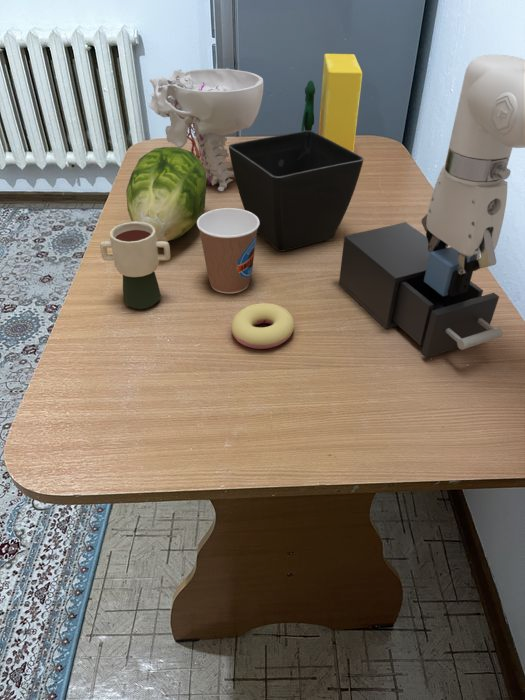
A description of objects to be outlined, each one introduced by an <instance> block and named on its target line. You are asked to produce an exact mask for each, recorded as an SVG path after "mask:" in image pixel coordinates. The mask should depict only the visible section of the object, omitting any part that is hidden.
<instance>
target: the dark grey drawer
mask: <svg viewBox="0 0 525 700" xmlns="http://www.w3.org/2000/svg"><path fill="white" fill-rule="evenodd" d="M424 278H425V275H422V276H418V277H414V278H411V279H407V280H403V281H399V284H398V289H397V294H396V300H395V305H394V310H393V315H392V320H393V321H394V322H395V323H396V324H397V325H398V326H397V327H399V328H400V329H401V330H403V332H405V334H407V335H408V336H409V337H410V338H411V339H412V340H413V341H415V342H416V343H417V344H418V345H419V346H422V348H421V351H420V354H421V355H422V356H423V357H424V358H426V359H427V358H430V357H433V356H436V355H439V354H442V353H445V352H449V351H451V350H455V349H459V350H461V351H463V350H467V349H469V348H472V347H475V346H478V345H481V344H483V343H487V342H490V341H493V340H497V339H499V338H501V337H502V336H503V330H502V329H501V328H500V327H499V326H498V327H494V326H492V324H491V323H492V320H493V317H494V314H495V311H496V309H497V305H498V302H499V299H500V295H498V294H497V293H495V292H492V293H487V294H484V295H483V292H484V290H483V289H482V288H481V287H479V286H478V285H477V284H476V283H474V282H472V280H470V284H469V287H468V291H467V292H465V293H462V294H459V295H455V296H450V295H446V296H442V295H440V294H439V293H438V292H437V291H435V290H434V289H433V288H431V287H430V286H429V285H428V284H426V283H425V282H424Z"/></svg>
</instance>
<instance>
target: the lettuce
mask: <svg viewBox="0 0 525 700" xmlns="http://www.w3.org/2000/svg"><path fill="white" fill-rule="evenodd" d="M207 184H208V180H206V170H205V168H204V166H203V164H202V162H201V158H200V159H199V158H197V157H196V154H195V155H194V154H193V153H191V150H188V149H184V148H183V147H182V148H179V147H177V146H162V147H156V148H154V149H152V150H150V151H149V152H147V153H145V154H144V155H142V156H141V157H140V158H139V159H138V161H137V163H136V165H135V167H134V168H133V170H132V172H131V175H130V178H129V181H128V184H127V186H126V190H125V191H126V192H125V193H126V195H125V196H126V206H127V207H126V208H127V212H128V215H129V217H130V220H131V222H135V221H137V222H145V223H148V224H151V225H152V226H153V227H154V228H155V232H156V238H157V241H166V242H168V241H173V240H176V239H179V238H180V237H182V236H183V235H185V233H187V232H189V230H191V229H192V228H193V227H194V226H195V224H197V220H198V218H199V217H200V216H201V215H203V212H204V210H205V208H206V196H207Z"/></svg>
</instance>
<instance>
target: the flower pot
mask: <svg viewBox="0 0 525 700" xmlns="http://www.w3.org/2000/svg"><path fill="white" fill-rule="evenodd" d="M228 153H229V157H230V163H232V167H231V168H232V171H233V172H234V176H235V177H234V176H233V177H234V180H235V184H236V188H237V191H238V194H239V197H240V200H241V204H242V206H243V210H246V211H249V212H251V213H253V214H254V215H256V216H257V217H258V219H259V222H260V224H259V227H258V228H257V234H258V235H260V236H261V237H262V238H263V239H264V240H265V241H266V242H268V243H269V244H270V245H271V246H273V248H275V249H276V250H277V251H280V252H285V251H289V250H293V249H297V248H302V247H305V246H309V245H313V244H316V243H320V242H324V241H327V240H331V239H333V238H334V236H335V234H336V233H337V230H338V229H339V227H340V225H341V223H342V221H343V219H344V217H345V214H346V212H347V210H348V208H349V205H350V203H351V201H352V198H353V196H354V192H355V190H356V186H357V184H358V181H359V179H360V178H359V177H360V174H361V170H362V167H363V163H364V160H365V159H364V157H363V156H361V155H359V154H357V153H355V152H354V151H353V152H352V151H350V150H348V149H346V148H344V147H342V146H340V145H338V144H336V143H334V142H332V141H331V140H329V139H327V138H325V137H323V136H321V135H319V133H317V132H315V131H313V130H311V131H305V130H304V131H301V130H300V131H296V132H290V133H286V134H285V133H284V134H280V135H275V136H273V135H272V136H269V137H263V138H257V139H251V140H245V141H240V142H237V143H236V142H235V143H231V144H229V145H228Z"/></svg>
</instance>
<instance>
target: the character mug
mask: <svg viewBox="0 0 525 700" xmlns="http://www.w3.org/2000/svg"><path fill="white" fill-rule="evenodd" d="M109 238H110V241H109V240H108V241H107V240H105V241H100V243H99V248H100V254H101V258H102V260H103V261H106V262H107V261H109V262H110V261H113V262H114V267H115V270H116V271H117V272H118V273H119V274H120V275H122V297H123V298H122V299H123V302H124V304H126V305H127V307H131V308H133V309H146V308H147V309H148V308H150V307H152V306H154V305H155V304H157V303H158V302H159V301H160V300H161V298H162V295H161V291H160V286H159V282H158V279H157V275H156V272H155V271H156V270H157V268H158V266H159V264H160V261H169V260H171V249H170V248H171V247H170V243H169V242H168V241H167V242H166V241H157V238H156V232H155V228H154V227H153V226H152V225H151V224H148V223H145V222H137V221H135V222H132V221H128V222H123V223H120V224H118V225H116V226H113V227H112V229H111V230H110V231H109ZM107 248H111V251H112V254H109V253H108V249H107ZM159 248H163V254H161V253H159Z"/></svg>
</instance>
